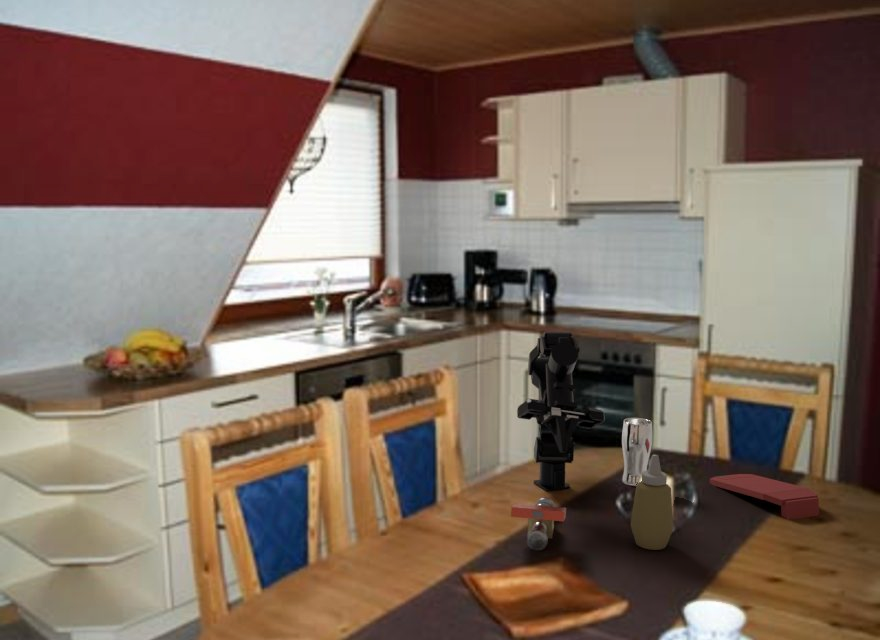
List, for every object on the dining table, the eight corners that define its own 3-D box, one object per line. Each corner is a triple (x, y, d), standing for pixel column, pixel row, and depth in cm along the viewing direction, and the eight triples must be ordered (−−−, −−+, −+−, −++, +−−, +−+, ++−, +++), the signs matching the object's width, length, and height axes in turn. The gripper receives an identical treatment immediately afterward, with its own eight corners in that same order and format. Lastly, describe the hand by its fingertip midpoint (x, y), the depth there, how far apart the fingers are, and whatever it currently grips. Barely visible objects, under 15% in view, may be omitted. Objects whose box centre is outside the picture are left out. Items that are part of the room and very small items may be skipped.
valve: (533, 514, 170) (534, 496, 170) (556, 516, 169) (556, 498, 168) (524, 549, 153) (524, 529, 152) (549, 551, 152) (549, 531, 151)
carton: (706, 498, 192) (780, 521, 168) (706, 477, 192) (779, 497, 168) (748, 493, 196) (826, 515, 172) (748, 473, 196) (825, 492, 172)
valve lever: (517, 501, 162) (511, 507, 152) (567, 505, 160) (564, 511, 149) (517, 510, 162) (510, 516, 151) (566, 514, 160) (563, 521, 149)
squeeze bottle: (662, 557, 150) (667, 465, 147) (622, 545, 155) (626, 456, 152) (678, 543, 156) (683, 454, 154) (639, 532, 161) (643, 446, 159)
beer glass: (647, 477, 194) (650, 418, 192) (652, 487, 187) (655, 425, 185) (618, 476, 195) (621, 416, 193) (621, 486, 188) (624, 424, 186)
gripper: (578, 401, 186) (582, 466, 179) (505, 389, 181) (507, 456, 174) (603, 385, 177) (608, 453, 170) (527, 372, 171) (530, 442, 164)
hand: (563, 452), depth 170 cm, fingers closed
